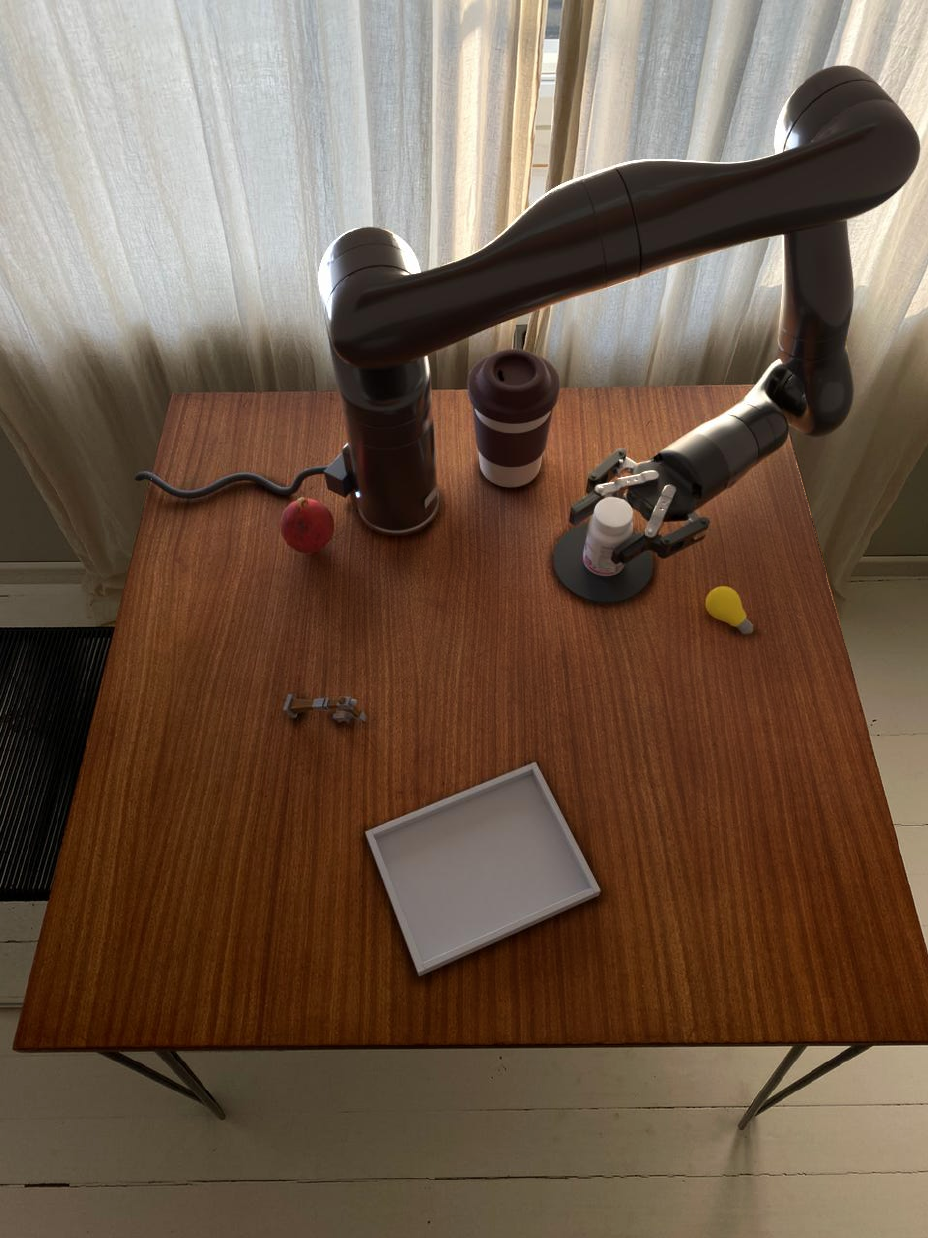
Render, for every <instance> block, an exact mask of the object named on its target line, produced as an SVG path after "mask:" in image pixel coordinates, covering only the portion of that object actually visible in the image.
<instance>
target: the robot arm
mask: <svg viewBox="0 0 928 1238" xmlns="http://www.w3.org/2000/svg"><path fill="white" fill-rule="evenodd" d="M774 150H775V151H774V152H775V154H771V155H769V156H764V157H761V158H757V159H750V160H746V161H737V162H736V161H733V162H711V161H699V160H697V161H696V160H686V159H685V160H683V159H664V158H663V159H662V158H659V159H658V158H657V159H655V158H653V159H639V160H631V161H627V162H623V163H618V164H616V165H612V166H610V167H607V168H603V169H601V170H597V171H595V172H592V173H588V174H586V175H583V176H580V177H577V178H574V179H571V180H569V181H566V182H564V183H561V184H559V185H558V186H556V187H554V188H552V189H551V190H549V191H548V192H546V193H545V194H544V195H542V196H541V197H539V199H536V201H534V203H533V204H532V205H530V206H529V207H528V208H527V209H526V210H524V211H523V212H522V214H520V215H519V216H518V217H517V218H516V219H515V220H514V221H513V222H512V223H511V224H510V225H509V226H508V227H506V228H505V229H504V231H503V232H501V233H500V234H499V235H498V236H496V237H495V238H494V239H493V240H492V241H490V242H489V243H487V244H486V245H485V246H483V247H482V248H480V249H479V250H477V251H475V252H473V253H471V254H469V255H467V256H464V257H461V258H459V259H457V260H453V261H451V262H448V263H445V264H443V265H440V266H436V267H433V268H430V269H427V270H423V271H421V268H420V264H419V261H418V259H417V257H416V255H415V253H414V251H413V250H412V248H411V247H410V246H409V244H408V243H407V242H406V241H405V240H404V239H402V238H401V237H400V236H399V235H397V234H396V233H394V232H392V231H390V230H388V229H385V228H381V227H376V226H362V227H358V228H353V229H351V230H348V231H346V232H345V233H342V234H341V235H340V236H338V237H337V238H336V239H335V240H334V241H333V242H332V243H331V244H330V245H329V246H328V248H327V250H326V251H325V253H324V255H323V257H322V259H321V262H320V265H319V268H318V269H319V270H318V277H317V279H318V289H319V295H320V302H321V306H322V311H323V312H322V313H323V317H324V323H325V329H326V333H327V334H326V335H327V339H328V344H329V351H330V357H331V361H332V368H333V373H334V377H335V383H336V387H337V388H336V389H337V393H338V397H339V402H340V408H341V414H342V419H343V424H344V430H345V436H346V442H347V443H346V444H345V445H344V446H343V447H342V450H341V452H340V454H339V455H337V457H336V458H335V459H334V460H333V461H332V462H331V463H330V464H329V465H318V466H312V467H308V468H306V469H303V470H301V471H300V472H298V474H297V475H296V476H295V478H294V480H293V482H292V484H291V485H290V486H286V487H284V486H280V485H278V484H276V483H273V482H272V481H270V480H269V479H268V478H265V477H264V476H261V475H260V474H256V473H252V472H237V473H232V474H229V475H227V476H224V477H222V478H220V479H218V480H216V481H214V482H213V483H211V484H208V485H206V486H203V487H202V488H198V489H195V490H194V489H193V490H184V489H183V490H182V489H179V488H176V487H174V486H172V485H170V484H169V483H167V482H166V481H164V480H163V479H162V478H160V477H159V476H157V475H156V474H154V473H153V472H151V471H145V470H144V471H140V472H138V473H137V474H135V475H134V481H137V482H141V481H143V480H147V481H150V482H151V483H153V484H154V485H155V486H157V487H158V488H159V489H161V490H163V491H164V492H165V493H167V494H169V495H171V496H173V497H175V498H179V499H185V500H195V499H199V498H203V497H205V496H208V495H210V494H212V493H214V492H216V491H218V490H220V489H222V488H224V487H226V486H228V485H230V484H234V483H236V482H241V481H243V482H244V481H249V482H253V483H255V484H256V483H257V484H258V485H260V486H261V487H264V488H266V489H267V490H269V491H271V492H272V493H275V494H276V495H280V496H290V495H293V494H296V493H297V492H298V491H299V490H300V488H301V486H302V484H303V482H304V481H305V479H307V478H309V477H312V476H316V475H317V476H318V475H324V480H325V483H326V484H325V485H326V488H327V490H328V491H330V492H332V493H334V494H336V495H338V496H341V497H342V498H345V499H346V498H347V497H348V496H349V497H350V503H351V506H352V508H354V509H355V510H357V511H358V513H359V517H360V519H361V520H362V522H363V524H365V525H366V527H368V528H369V529H371V530H372V531H374V532H375V533H377V534H380V535H384V536H389V537H405V536H410V535H414V534H416V533H419V532H420V531H423V530H424V529H425V528H427V527H428V526H430V525H431V523H432V522H433V521H434V519H435V518H436V516H437V515H438V512H439V509H440V496H439V484H438V473H437V456H436V442H435V441H436V439H435V424H434V410H433V409H434V408H433V407H434V406H433V394H432V393H433V392H432V391H433V389H432V373H431V368H430V367H431V365H430V362H429V356H430V355H432V354H434V353H436V352H439V351H441V350H443V349H445V348H448V347H450V346H452V345H455V344H456V343H459V342H462V341H463V340H466V339H468V338H471V337H472V336H475V335H477V334H479V333H481V332H483V331H486V330H488V329H490V328H493V327H496V326H498V325H500V324H504V323H505V322H509V321H511V320H514V319H518V318H520V317H522V316H526V315H528V314H531V313H534V312H537V311H540V310H542V309H545V308H549V307H550V306H553V305H556V304H559V303H562V302H565V301H567V300H570V299H573V298H577V297H581V296H584V295H588V294H591V293H595V292H599V291H602V290H605V289H609V288H612V287H615V286H618V285H621V284H624V283H627V282H630V281H633V280H635V279H639V278H642V277H645V276H646V275H647V276H648V275H650V274H652V273H655V272H657V271H661V270H664V269H665V268H668V267H671V266H674V265H678V264H681V263H685V262H687V261H691V260H694V259H698V258H701V257H704V256H707V255H711V254H715V253H717V252H718V253H719V252H721V251H724V250H728V249H731V248H735V247H739V246H741V245H744V244H749V243H753V242H757V241H762V240H766V239H770V238H774V237H779V236H782V288H781V289H782V290H781V303H780V312H779V322H778V332H777V344H776V345H777V346H776V349H777V355H778V359H776V360H774V361H773V362H772V363H771V364H770V365H769V366H768V367H767V368H766V369H765V371H764V372H763V373H762V375H761V376H760V377H759V379H758V380H757V382H756V383H755V384H754V386H752V387H751V389H750V390H749V391H748V392H747V393H746V394H745V396H744V397H742V399H741V400H740V401H739V402H738V403H736V404H735V405H733V406H731V407H729V408H728V409H726V410H725V411H724V412H722V413H721V414H720V415H718V416H716V417H714V418H712V419H709V420H707V421H705V422H703V423H701V424H700V425H698V426H697V427H694V429H692V430H690V431H689V432H687V433H686V434H684V435H683V436H681V437H680V438H677V440H675V441H673V442H672V443H670V444H669V445H667V446H666V447H664V448H663V449H661V450H660V451H658V452H657V453H656V454H654V456H653V457H651V458H650V459H649V460H645V461H640V462H635V461H634V460H633V459H631V458H629V457H627V453H628V452H627V450H626V449H625V448H623V447H619V448H617V449H615V450H614V451H613V452H612V453H611V454H610V455H608V456H607V457H606V458H605V459H604V460H603V461H601V463H599V464H598V465H597V466H596V467H595V468H593V469H592V470H591V471H590V472H589V473H588V474H587V479H586V480H587V481H586V487H585V493H586V495H584V496H583V497H581V498H580V499H578V500H577V501H575V502H574V503H573V504H572V505H571V506H570V511H569V518H568V523H570V524H571V525H572V526H573V527H577V526H578V525H579V524H580V523H582V522H583V521H585V520H586V519H588V518H589V517H591V516H592V515H593V514H594V509H595V507H596V505H597V504H598V503H599V502H600V501H601V500H603V499H605V498H611V497H614V498H620V499H622V500H624V501H626V502H627V503H628V504H629V505H630V506H631V508H632V510H635V511H637V512H638V513H639V514H640V515H641V517H642V518H643V519H644V520H645V521H646V522H647V524H646V527H645V529H644V531H643V532H641V531H640V530H639V531H637V532H636V533H635V535H633V536H632V537H630V538H629V539H627V540H626V541H624V542H623V543H622V544H620V545H619V546H617V547H616V548H615V549H614V550H613V552H612V556H611V561H612V562H613V563H614V564H615V565H617V564H619V563H620V562H621V563H622V564H625V563H628V562H630V561H631V560H633V559H634V558H636V557H637V556H638V555H640V554H641V553H643V552H644V551H649V550H650V552H654V553H656V555H657V557H658V558H659V559H661V560H662V559H663V560H664V559H667V558H670V557H671V556H673V555H675V554H678V553H679V552H681V551H684V550H685V549H687V548H690V547H691V546H694V545H695V544H698V543H699V542H701V541H703V540H705V538H706V535H707V534H708V530H709V527H710V525H711V520H710V519H709V517H706V516H701V517H700V515H698V514H697V513H696V511H697V510H699V509H700V508H703V506H705V505H706V504H707V503H709V502H710V501H712V500H713V499H714V498H716V497H718V496H719V495H721V494H722V493H723V492H725V491H726V490H728V489H730V488H732V487H733V486H734V485H735V484H737V483H738V482H739V481H740V480H741V479H743V478H744V477H745V476H746V475H747V474H748V473H749V472H750V471H751V470H752V469H754V468H755V467H756V466H759V464H761V463H762V462H764V461H766V460H767V459H768V458H770V457H771V456H772V455H774V454H775V453H776V452H778V451H779V450H780V449H781V448H782V447H783V446H784V445H785V443H786V442H787V440H788V437H789V434H790V433H789V432H790V430H789V426H791V427H792V428H793V429H796V431H799V432H800V433H802V434H804V435H806V436H809V437H811V438H822V437H826V436H829V435H831V434H832V433H834V432H836V431H837V430H838V429H839V428H841V426H842V425H843V424H844V422H845V421H846V420H847V418H848V416H849V414H850V412H851V410H852V405H853V403H854V402H853V401H854V397H855V396H854V395H855V386H854V385H855V384H854V378H853V377H854V376H853V371H852V367H851V361H850V355H849V350H848V347H847V344H848V339H849V338H848V337H849V332H850V327H851V322H852V317H853V310H854V301H855V285H854V283H855V282H854V275H853V274H854V273H853V264H852V256H851V249H850V239H849V229H848V221H849V220H851V219H855V218H857V217H860V216H862V215H864V214H866V213H869V212H870V211H873V210H874V209H876V208H878V207H880V206H881V205H883V204H884V203H886V202H887V201H888V200H890V199H891V198H892V197H894V196H895V195H896V194H897V193H898V192H899V191H900V190H901V189H902V188H903V187H904V186H905V185H906V184H907V182H908V181H909V180H910V178H911V177H912V175H913V173H914V172H915V170H916V168H917V166H918V164H919V161H920V156H921V140H920V137H919V134H918V132H917V129H916V127H915V126H914V124H913V123H912V121H911V119H910V118H909V117H908V115H906V113H905V112H904V110H903V109H902V108H901V107H900V106H899V105H898V104H897V103H896V102H895V100H894V99H893V98H892V97H891V96H890V95H889V94H888V93H887V92H886V91H885V90H884V89H883V87H882V86H881V85H880V84H878V82H876V80H875V79H874V78H872V77H871V76H870V75H869V74H867V73H866V72H865V71H863V70H861V69H860V68H858V67H855V66H852V65H846V64H843V65H842V64H841V65H840V64H839V65H832V66H829V67H825V68H822V69H820V70H818V71H817V72H815V73H813V74H812V75H811V76H809V77H808V78H807V79H805V80H804V81H802V82H801V84H800V85H798V86H797V87H796V89H794V91H793V93H792V94H791V95H790V96H789V97H788V99H787V101H786V102H785V104H784V106H783V107H782V110H781V112H780V114H779V117H778V119H777V123H776V127H775V133H774ZM152 473H153V475H152ZM624 474H630V475H629V476H623V477H621V476H622V475H624ZM615 477H617V478H616V479H615V480H614V481H612V480H613V479H614V478H615ZM151 478H152V480H151ZM611 481H612V482H611ZM625 492H626V493H625ZM672 522H673V523H674V522H684V524H683V526H681V527H679V528H676V529H675V530H672V531H671V532H668V533H667V534H665V535H662V534H661V532H662V530H663V527H664V525H665V523H672Z"/></svg>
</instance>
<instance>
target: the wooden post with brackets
mask: <svg viewBox="0 0 928 1238" xmlns="http://www.w3.org/2000/svg"><path fill="white" fill-rule="evenodd" d="M357 704H358V701H357V699H355V698H353V697H352V696H350V695H349V696H339V697H338V698H330V697H320V698H316V697H315V698H314V699H302V698H296V697H295V696H294V695H293V694H289V693H288V694H287V697H286V700H285V703H284V706H283V708H282V711H284V712H285V713H286V714H287V715H288V716H290V717H291V718H292V719H294V718H295V719H296V718H297V716H298V714H299V713H300V714H301V713H304V712H309V711H317V712H321V711H324V712H327V711H328V712H330V711H331V712H332V710H335V709H336V711H335V713H332V714H333V715H332V719H334V720H336V721H337V722H338V723H342V722H346V723H347V724H349V723H350V720H353V719H356V721H359V722H360V723H361V724H367V723H368V720H369V716H367V715H366V713H365V712H364V711H362V710H360V709H359V708H358V707H356V706H357ZM338 709H339V710H338Z"/></svg>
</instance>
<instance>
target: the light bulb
mask: <svg viewBox="0 0 928 1238" xmlns="http://www.w3.org/2000/svg"><path fill="white" fill-rule="evenodd" d="M705 608H706V611H707V612H708V614H709V615H710V616H711V617H713V619H716V620H719V621H721V622H724V623H727V624H729V626H731V627H735V628H736V629H738V631H739V632H740V633H742V635H751V634H752V633H753V632H754V624H753V623H752V622H751V621H750V620H749V619H748V617H747V613H746V611H745V610H744V608H743V604H742V600H741V598H740V595H739V593H738V592H737V591H736V590H735V589H733V588H732V587H729V586H726V585H725V586H722V585H721V586H717V587H715V588H713V589H711V590H710V591H709V592H708V594H707V596H706V598H705Z"/></svg>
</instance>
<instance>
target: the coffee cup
mask: <svg viewBox="0 0 928 1238" xmlns="http://www.w3.org/2000/svg"><path fill="white" fill-rule="evenodd" d="M560 389H561V379H560V374H559V373H558V371H557V369H556V367H555V366H554V365H553V364H552V363H551V361H549V360H547V359H545V357H542V356H541V355H538V354H536V353H533V352H532V351H529V350H526V349H523V348H522V349H521V348H507V349H502V350H499V351H496V352H494V353H491V354H488V355H486V356H485V357H483V358H482V359H480V360H478V361H477V362H476V363H475V364H474V366H473V367H472V368H471V370H470V372H469V374H468V376H467V395H468V399H469V401H470V403H471V405H472V415H473V416H472V417H473V425H474V427H473V428H474V435H475V436H474V437H475V445H476V448H477V451H478V459H479V468H480V470H481V472H482V474H483V476H484V477H485V478H486V479H487V480H489V482H491V483H493V484H494V485H496V486H500V487H503V488H519V487H521V486H525V485H527V484H529V483H530V482H532V481H533V480H534V479H535V478H536V477H537V475H538V474H539V473H540V470H541V466H542V461H543V455H544V453H545V450H546V448H547V444H548V437H549V433H550V429H551V428H550V427H551V422H552V419H553V412H554V408H555V406H556V405H557V403H558V400H559V397H560V393H561V391H560Z"/></svg>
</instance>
